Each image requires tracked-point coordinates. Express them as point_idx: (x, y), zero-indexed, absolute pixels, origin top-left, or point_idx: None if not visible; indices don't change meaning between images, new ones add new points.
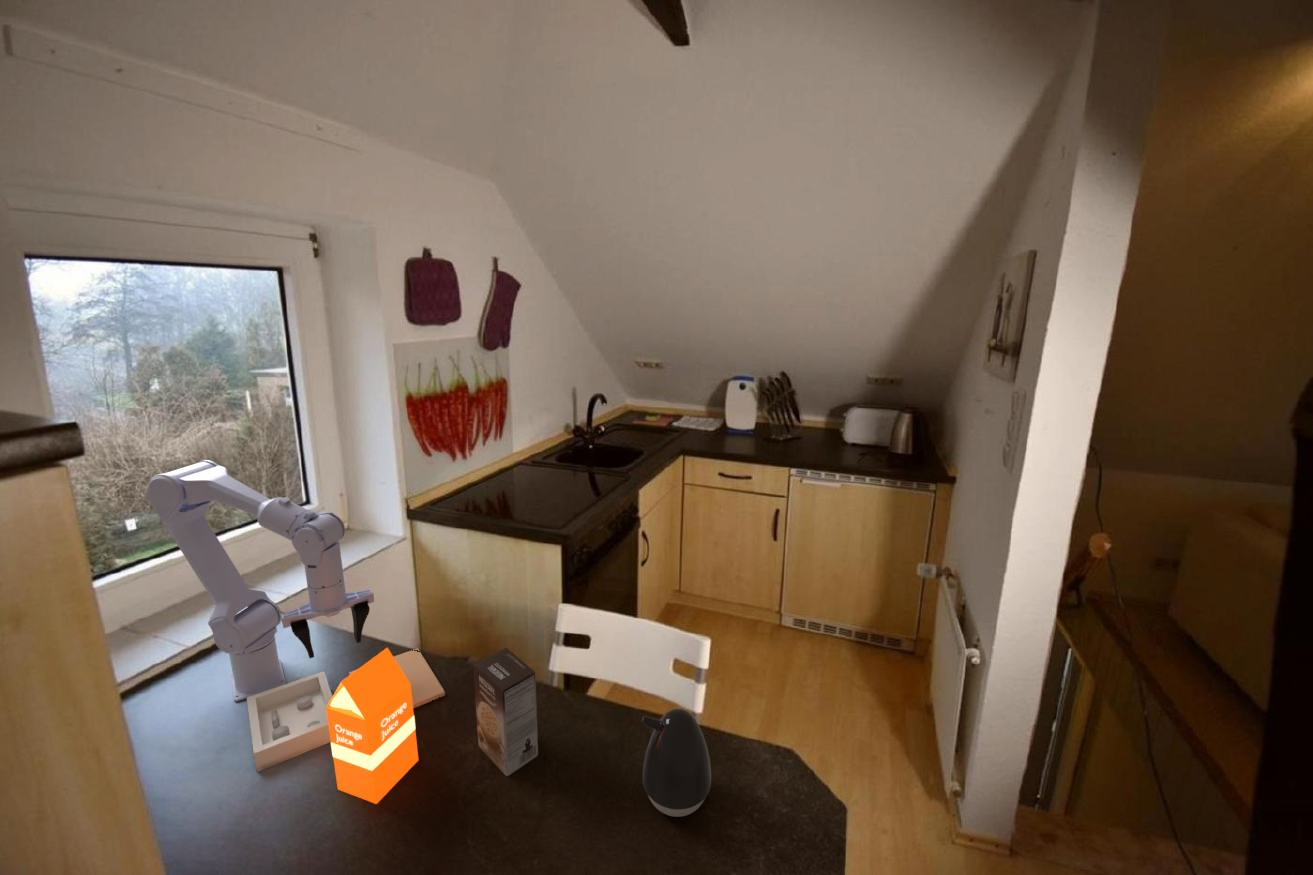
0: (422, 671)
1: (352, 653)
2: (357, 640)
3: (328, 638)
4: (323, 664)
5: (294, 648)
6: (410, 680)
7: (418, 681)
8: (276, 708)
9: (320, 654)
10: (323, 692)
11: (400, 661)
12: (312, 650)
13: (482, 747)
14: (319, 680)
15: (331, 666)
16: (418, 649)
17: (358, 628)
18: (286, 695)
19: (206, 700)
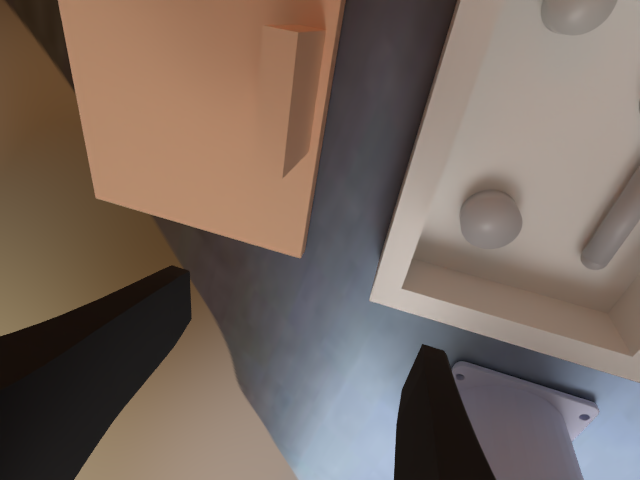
0: (93, 46)
1: (263, 333)
2: (173, 276)
3: (289, 422)
4: (339, 353)
5: (364, 451)
6: (139, 24)
7: None
8: (559, 278)
9: (328, 391)
10: (439, 173)
11: (152, 176)
12: (430, 385)
13: None
14: (408, 263)
15: (326, 330)
16: (94, 189)
17: (87, 326)
18: (514, 300)
19: (631, 462)
